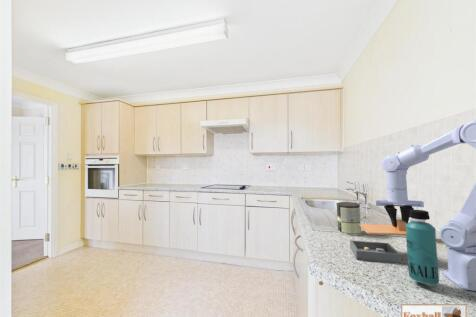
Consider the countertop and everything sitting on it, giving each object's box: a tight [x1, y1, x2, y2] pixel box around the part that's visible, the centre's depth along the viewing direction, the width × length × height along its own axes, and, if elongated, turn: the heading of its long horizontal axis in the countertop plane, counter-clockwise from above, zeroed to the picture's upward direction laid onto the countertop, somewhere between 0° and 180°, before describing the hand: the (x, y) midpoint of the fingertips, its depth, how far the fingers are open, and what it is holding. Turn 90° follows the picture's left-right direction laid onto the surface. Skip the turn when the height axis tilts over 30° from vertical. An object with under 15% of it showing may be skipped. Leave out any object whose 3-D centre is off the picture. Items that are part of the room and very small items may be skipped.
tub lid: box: [359, 218, 406, 237], centre depth 76 cm, size 12×14×4 cm
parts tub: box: [349, 239, 402, 265], centre depth 75 cm, size 11×13×3 cm
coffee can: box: [336, 201, 362, 237], centre depth 102 cm, size 10×10×14 cm
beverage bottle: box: [405, 209, 441, 286], centre depth 56 cm, size 6×7×20 cm
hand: (399, 226), depth 74 cm, fingers closed on tub lid, 2 cm apart
